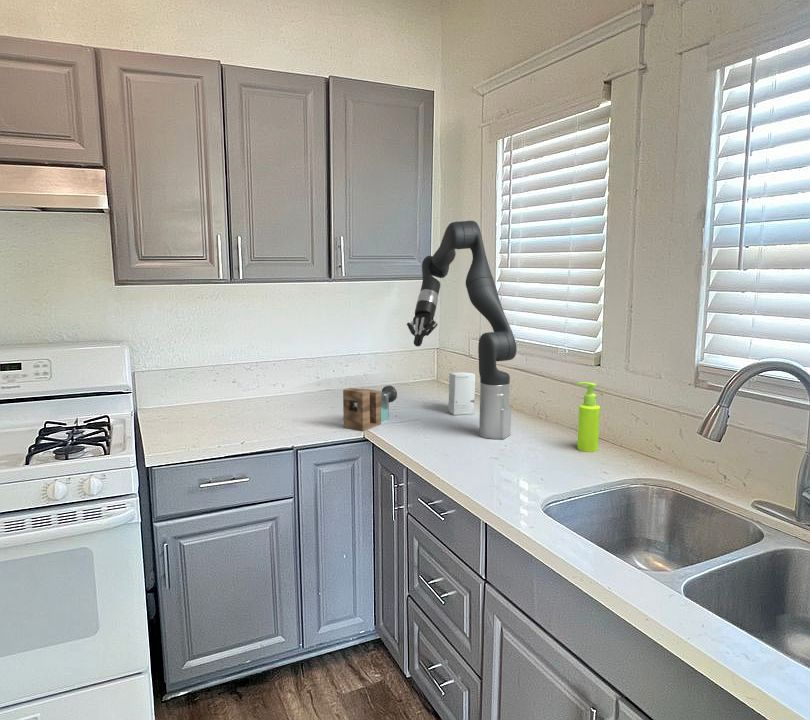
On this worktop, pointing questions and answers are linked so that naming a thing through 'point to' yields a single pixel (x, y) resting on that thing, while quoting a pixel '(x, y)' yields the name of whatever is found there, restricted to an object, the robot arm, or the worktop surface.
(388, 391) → the shaft
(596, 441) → the soap dispenser
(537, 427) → the worktop surface
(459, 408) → the skincare box
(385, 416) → the block
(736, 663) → the worktop surface
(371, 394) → the bearing stand
